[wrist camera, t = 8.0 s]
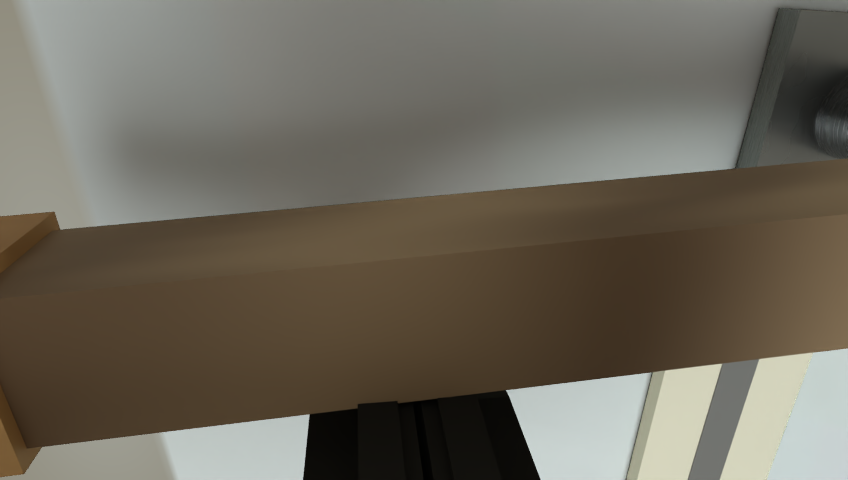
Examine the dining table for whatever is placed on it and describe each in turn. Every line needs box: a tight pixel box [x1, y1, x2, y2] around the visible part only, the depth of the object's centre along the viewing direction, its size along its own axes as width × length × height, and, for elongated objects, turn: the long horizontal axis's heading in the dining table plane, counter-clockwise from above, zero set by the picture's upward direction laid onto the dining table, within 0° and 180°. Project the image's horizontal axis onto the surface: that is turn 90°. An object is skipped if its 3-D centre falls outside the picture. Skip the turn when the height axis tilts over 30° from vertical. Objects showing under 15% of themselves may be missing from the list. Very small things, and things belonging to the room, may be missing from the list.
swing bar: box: [0, 159, 848, 477], centre depth 8 cm, size 21×4×2 cm, turn 93°
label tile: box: [626, 353, 813, 480], centre depth 20 cm, size 7×5×1 cm
